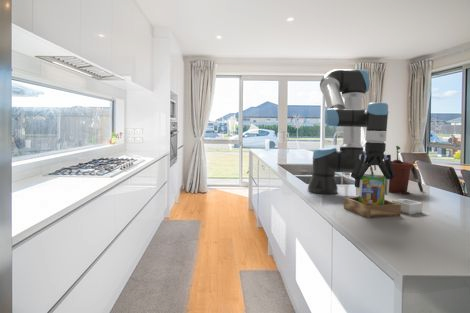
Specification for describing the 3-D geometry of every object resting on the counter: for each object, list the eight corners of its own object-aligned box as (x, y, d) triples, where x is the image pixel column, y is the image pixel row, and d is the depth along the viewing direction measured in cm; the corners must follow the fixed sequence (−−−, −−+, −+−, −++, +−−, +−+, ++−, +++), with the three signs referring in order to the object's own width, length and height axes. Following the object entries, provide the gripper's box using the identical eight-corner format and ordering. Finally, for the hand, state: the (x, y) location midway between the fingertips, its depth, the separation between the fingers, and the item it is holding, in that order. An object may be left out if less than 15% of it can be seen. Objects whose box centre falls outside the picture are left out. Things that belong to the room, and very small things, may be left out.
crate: (343, 208, 135) (344, 197, 134) (373, 206, 139) (374, 196, 139) (368, 217, 120) (368, 206, 120) (400, 215, 125) (401, 204, 124)
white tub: (391, 209, 134) (392, 200, 134) (403, 207, 138) (404, 198, 137) (409, 214, 127) (409, 204, 127) (421, 212, 130) (422, 202, 130)
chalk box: (382, 207, 123) (385, 169, 122) (357, 204, 128) (359, 167, 126) (384, 203, 131) (387, 167, 130) (361, 199, 136) (363, 165, 134)
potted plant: (380, 186, 188) (383, 144, 186) (423, 191, 178) (426, 146, 176) (378, 191, 173) (381, 145, 170) (424, 196, 163) (428, 148, 160)
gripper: (355, 142, 120) (352, 198, 122) (407, 142, 127) (403, 195, 129) (343, 141, 127) (340, 194, 129) (393, 141, 134) (389, 192, 136)
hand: (371, 195), depth 129 cm, fingers closed on chalk box, 12 cm apart
